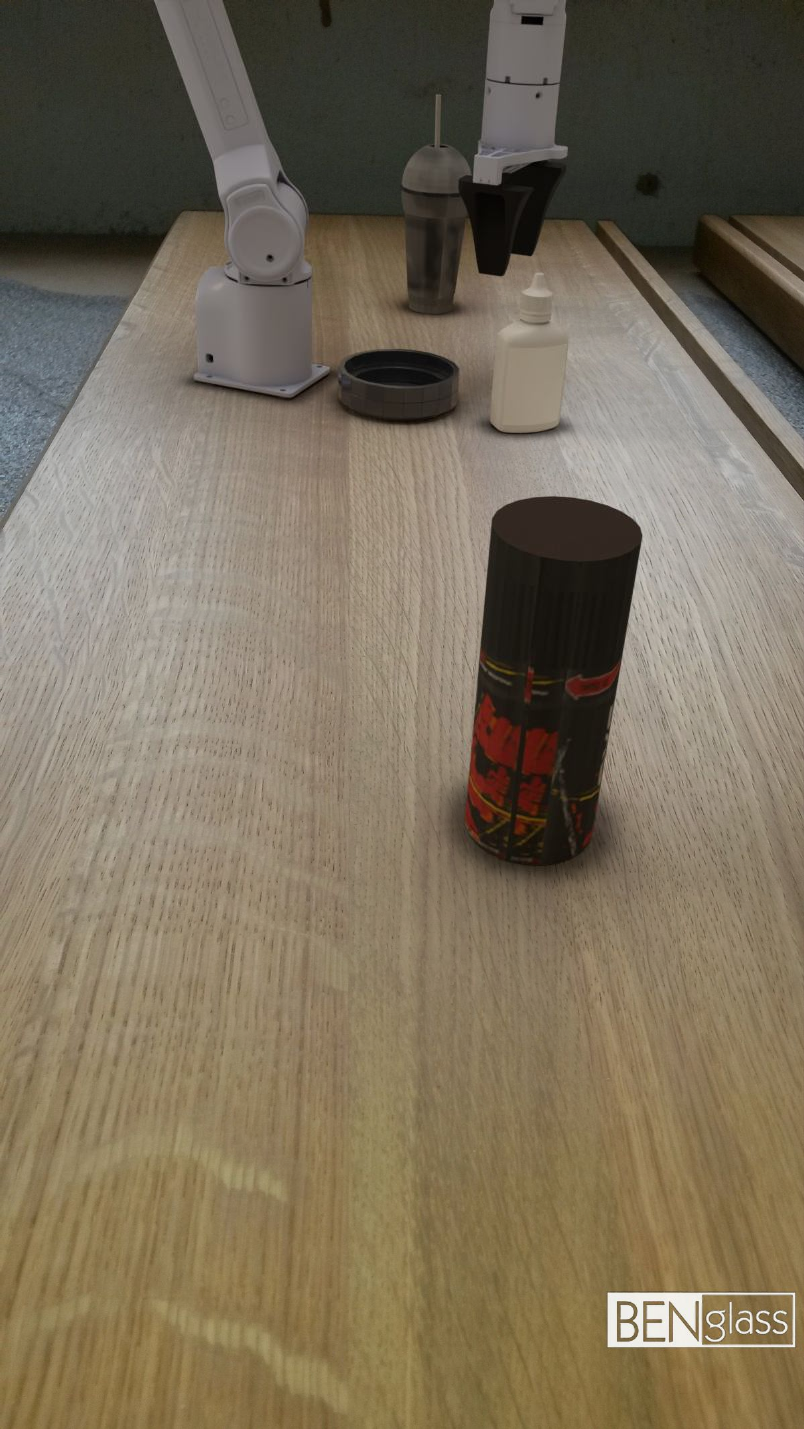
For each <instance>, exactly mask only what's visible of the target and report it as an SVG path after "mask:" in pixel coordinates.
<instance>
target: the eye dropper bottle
mask: <svg viewBox="0 0 804 1429" xmlns="http://www.w3.org/2000/svg"><path fill="white" fill-rule="evenodd" d="M545 281H546V280H545V273H543V272H535V273H534V276H533V279H532V282H531V285H530V287H528V288H525V289H522V291H521V294H520V295H521V296H520V305H519V306H520V307H519V316H518V317H519V320H516V321H514V322H511V323H510V324H508V325H506V326H504V327H503V328H502V329H501V330H500V331H499V332H498V334H497V336H496V345H495V352H494V365H493V376H492V386H491V387H492V388H491V398H490V409H489V410H490V411H489V421H490V424H491V425H492V426H494V427H495V428H496V429H497V430H498V431H500V432H502V433H511V434H512V433H513V434H526V433H527V434H528V433H537V432H542V431H547V430H550V429H554V428H555V427H557V426H558V425H559V423H560V420H561V412H562V404H563V394H564V386H565V379H566V369H567V360H568V350H569V335H568V333H567V330H565V329H564V327H562V326H561V325H559V324H557V323H556V322H553V321H551V319H552V312H553V310H552V309H553V303H554V302H553V301H554V292H552V291H551V290H550V289H548V288H547V287H546V282H545Z"/></svg>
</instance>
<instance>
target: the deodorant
mask: <svg viewBox="0 0 804 1429" xmlns="http://www.w3.org/2000/svg"><path fill="white" fill-rule="evenodd" d="M642 542H643V532H642V528H641V526H640V525H639V524H638V523H637V522H636V520H635V519H634V518H632V517H631V516H630V515H628V514H627V513H625V512H624V511H622V510H620V509H617V508H615V507H612V506H611V505H608V504H605V503H601V502H597V501H594V500H590V499H585V498H578V497H573V496H558V495H549V496H533V497H528V498H522V499H518V500H514V501H512V502H509V503H506V504H504V505H503V506H502V507H500V508H499V509H498V510H496V511H495V513H494V514H493V516H492V518H491V526H490V536H489V547H488V557H487V570H486V579H485V591H484V592H485V593H484V602H483V613H482V614H483V615H482V624H481V634H480V635H481V636H480V645H479V658H478V667H477V678H476V688H475V702H474V710H473V711H474V713H473V724H472V733H471V735H472V736H471V744H470V745H471V746H470V757H469V770H468V779H467V789H466V800H465V812H464V818H465V819H464V825H465V827H466V830H467V832H468V835H469V836H470V837H471V839H472V840H473V841H474V842H475V843H476V845H477V846H478V847H480V848H482V849H483V850H484V851H486V852H488V853H489V854H490V855H493V856H495V857H497V858H500V859H502V860H504V861H507V862H511V863H516V864H520V865H530V866H547V865H554V864H559V863H562V862H566V861H568V860H571V859H573V858H574V857H576V856H578V855H579V854H581V853H582V852H583V851H584V850H585V849H586V848H587V846H589V844H590V843H591V840H592V836H593V833H594V829H595V822H596V816H597V811H598V805H599V799H600V793H601V786H602V781H603V775H604V768H605V763H606V758H607V757H606V756H607V751H608V744H609V739H610V734H611V726H612V722H613V714H614V709H615V703H616V698H617V690H618V687H619V686H618V684H619V680H620V679H619V678H620V673H621V667H622V663H623V662H622V661H623V655H624V650H625V643H626V637H627V631H628V625H629V620H630V613H631V607H632V602H633V595H634V590H635V584H636V578H637V572H638V565H639V559H640V554H641V547H642Z"/></svg>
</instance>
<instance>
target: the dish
mask: <svg viewBox="0 0 804 1429" xmlns="http://www.w3.org/2000/svg"><path fill="white" fill-rule="evenodd" d="M460 373H461V369H460V367H459V366H458V365H457V363H456V362H454V361H452V360H451V359H449V358H447V357H445V356H442V355H438V354H435V353H432V352H429V351H428V352H427V351H422V350H416V349H405V348H377V349H370V350H369V349H368V350H362V351H359V352H355V353H351V354H349V355H347V356H346V357H344V358H343V359H340V361H339V364H338V366H337V396H338V398H339V400H340V402H341V404H343V405H344V406H346V407H348V408H350V409H351V410H352V411H354V412H356V413H357V414H360V415H363V416H365V417H369V418H372V419H376V420H377V419H378V420H385V421H391V422H392V421H395V422H413V421H423V420H428V419H432V418H433V419H434V418H435V417H438V416H440V415H442V414H444V413H446V412H448V411H451V410H452V409H453V408H454V407H456V406H457V404H458V399H459V390H460V389H459V387H460V375H461V374H460Z"/></svg>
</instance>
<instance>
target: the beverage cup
mask: <svg viewBox="0 0 804 1429" xmlns="http://www.w3.org/2000/svg"><path fill="white" fill-rule="evenodd" d="M441 110H442V95H441V94H435V113H434V115H435V118H434V143H430V144H427V145H425V146H423V147H421V148H419V149H418V150H417V151H416V152H415V153H414V154H413V155H412V156H411V157H410V158H409V161H408V162H407V164H406V165H405V168H404V170H403V174H402V179H401V184H400V187H399V189H400V191H401V203H402V210H403V211H404V235H405V260H406V261H405V264H406V288H407V289H406V290H407V291H406V292H407V297H408V308H409V309H410V311H413V312H416V313H419V314H420V313H421V314H427V315H441V314H446V313H449V312H451V311H452V310H453V303H454V298H455V294H456V288H457V281H458V276H459V270H460V261H461V254H462V248H463V242H464V235H465V229H466V221H467V216H468V213H467V210H466V207H465V204H464V202H463V200H462V197H461V195H460V193H459V190H458V181H459V178H461V177H463V176H465V175H471V176H473V174H472V171H471V168H470V166H469V163H468V161H467V160H466V158H465V157H464V155H463V154H462V153H461V152H460V151H459V150H458V149H456V148H455V147H453V146H451V145H449V144H446V143H445V144H444V143H441V112H442V111H441Z"/></svg>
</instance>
